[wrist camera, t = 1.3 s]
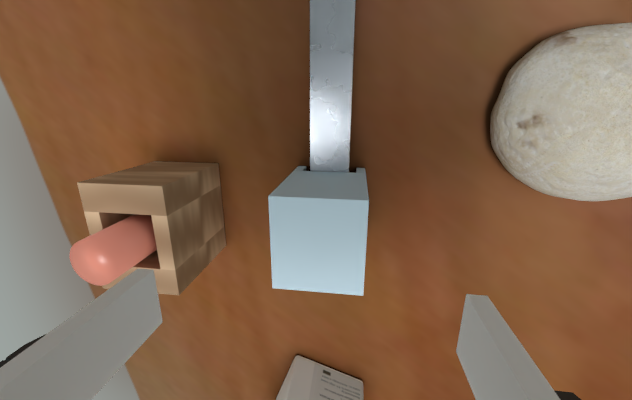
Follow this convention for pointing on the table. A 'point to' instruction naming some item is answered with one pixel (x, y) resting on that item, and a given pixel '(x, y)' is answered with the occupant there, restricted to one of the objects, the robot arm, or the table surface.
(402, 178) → the table surface
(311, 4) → the rail
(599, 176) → the stone
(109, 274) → the plunger
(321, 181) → the carriage
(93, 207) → the wooden box
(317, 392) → the container
